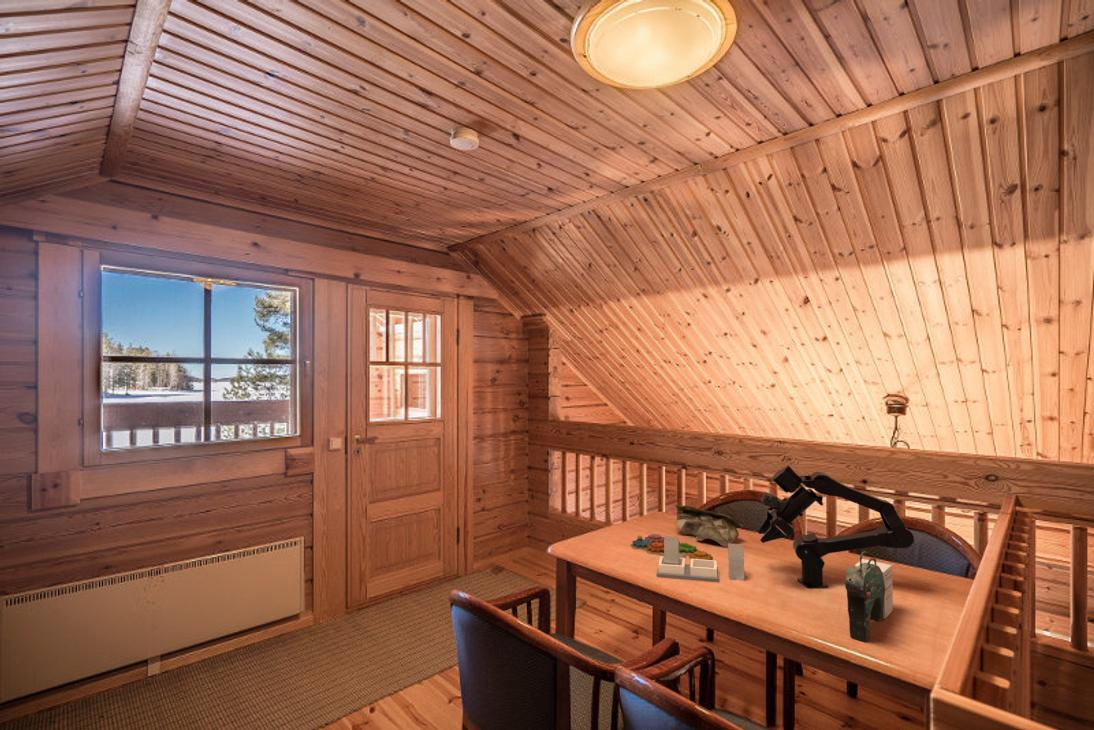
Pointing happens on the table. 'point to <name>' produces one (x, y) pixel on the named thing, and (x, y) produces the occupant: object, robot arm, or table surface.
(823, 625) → the table surface
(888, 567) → the supplement box
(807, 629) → the table surface
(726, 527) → the hollow geode rock
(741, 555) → the block
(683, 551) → the gear puzzle
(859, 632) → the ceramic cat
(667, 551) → the billet
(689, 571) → the double socket tray
